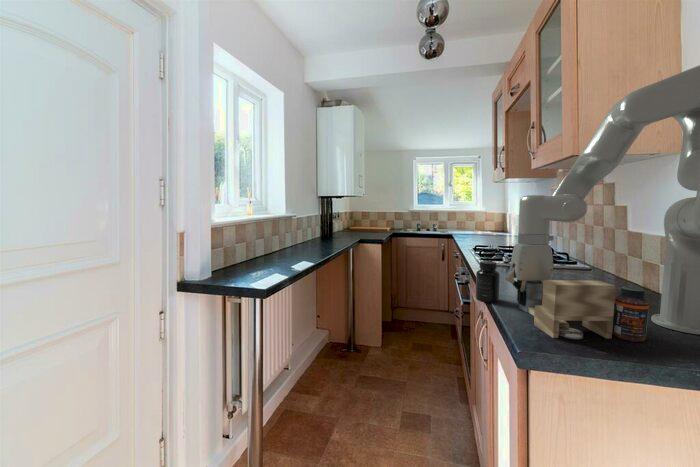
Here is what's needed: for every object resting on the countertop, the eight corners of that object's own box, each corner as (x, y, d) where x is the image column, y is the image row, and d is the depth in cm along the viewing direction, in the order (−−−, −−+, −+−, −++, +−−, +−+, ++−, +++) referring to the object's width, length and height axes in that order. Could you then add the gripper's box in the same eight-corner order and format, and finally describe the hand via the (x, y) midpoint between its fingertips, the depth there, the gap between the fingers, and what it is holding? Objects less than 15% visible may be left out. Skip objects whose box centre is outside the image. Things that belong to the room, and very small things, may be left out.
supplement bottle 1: (479, 296, 110) (480, 259, 109) (501, 299, 106) (503, 262, 105) (472, 300, 105) (473, 262, 104) (495, 304, 101) (496, 264, 100)
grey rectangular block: (533, 308, 97) (534, 280, 97) (571, 329, 80) (572, 296, 80) (519, 308, 97) (520, 280, 97) (554, 329, 80) (555, 296, 80)
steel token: (573, 332, 80) (573, 327, 80) (588, 340, 75) (588, 335, 75) (552, 331, 80) (552, 327, 80) (565, 340, 75) (565, 335, 75)
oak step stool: (587, 325, 83) (590, 277, 82) (611, 338, 75) (615, 285, 74) (534, 325, 83) (536, 277, 82) (552, 337, 75) (555, 285, 74)
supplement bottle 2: (618, 340, 74) (622, 290, 73) (607, 331, 80) (610, 284, 79) (651, 344, 72) (656, 292, 71) (638, 334, 78) (642, 286, 77)
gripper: (555, 238, 97) (552, 301, 99) (497, 238, 97) (494, 300, 99) (572, 241, 90) (568, 308, 91) (509, 241, 90) (506, 308, 91)
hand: (530, 303), depth 95 cm, fingers closed on grey rectangular block, 4 cm apart
